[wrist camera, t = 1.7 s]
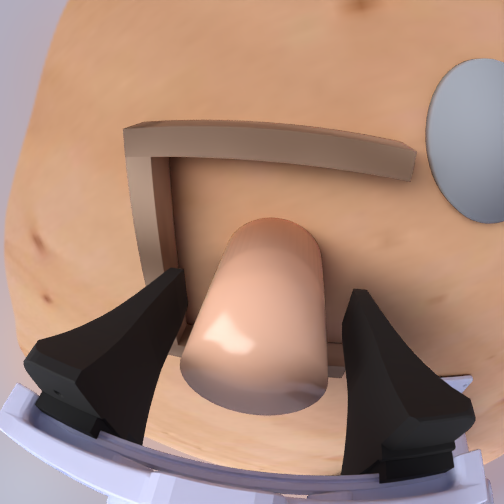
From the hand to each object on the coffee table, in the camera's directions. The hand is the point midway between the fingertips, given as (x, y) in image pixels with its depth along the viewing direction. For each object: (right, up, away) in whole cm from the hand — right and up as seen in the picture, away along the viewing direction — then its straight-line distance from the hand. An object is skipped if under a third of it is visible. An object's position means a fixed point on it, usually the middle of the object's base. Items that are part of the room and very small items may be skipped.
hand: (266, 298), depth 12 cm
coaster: (+11, +7, -3) cm, 13 cm away
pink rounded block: (0, +1, +3) cm, 3 cm away
